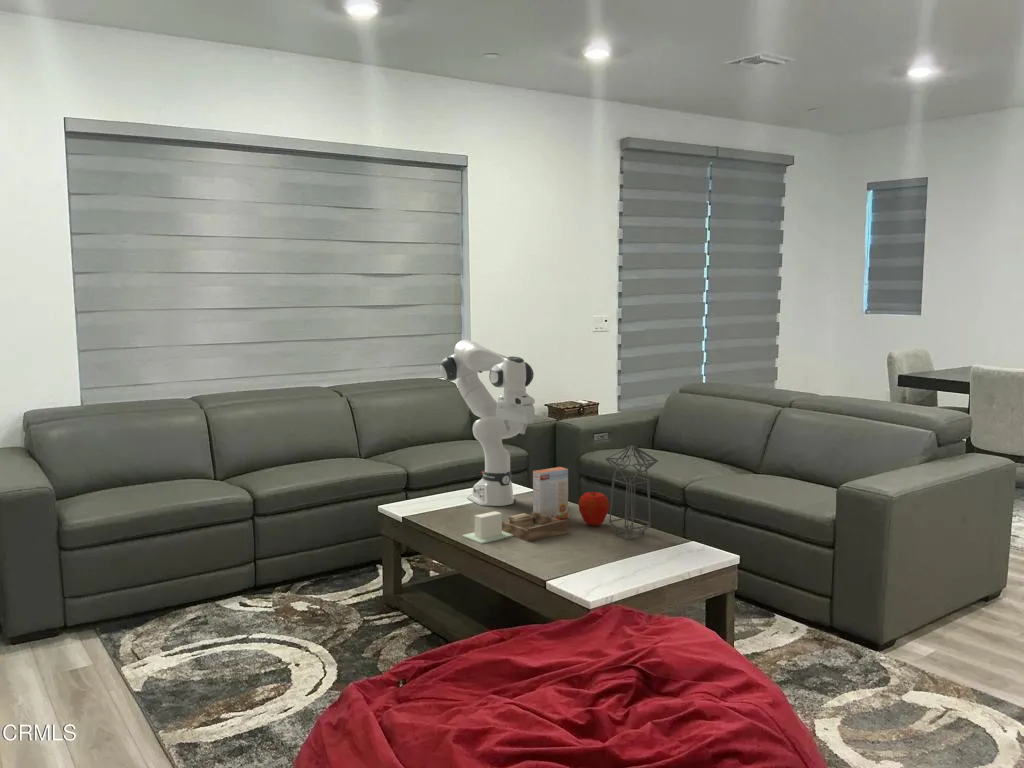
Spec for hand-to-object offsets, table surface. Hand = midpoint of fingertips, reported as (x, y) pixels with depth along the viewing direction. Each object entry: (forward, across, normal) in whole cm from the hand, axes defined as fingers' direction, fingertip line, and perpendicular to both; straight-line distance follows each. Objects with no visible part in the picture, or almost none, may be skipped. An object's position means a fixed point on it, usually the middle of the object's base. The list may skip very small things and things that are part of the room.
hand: (514, 432), depth 343 cm
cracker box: (+37, +5, +15) cm, 41 cm away
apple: (+37, +22, +23) cm, 49 cm away
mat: (+37, +8, -19) cm, 43 cm away
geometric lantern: (+37, +41, +24) cm, 60 cm away
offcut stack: (+37, +6, -2) cm, 38 cm away
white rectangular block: (+36, +8, -19) cm, 42 cm away
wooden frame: (+37, +13, -2) cm, 39 cm away
